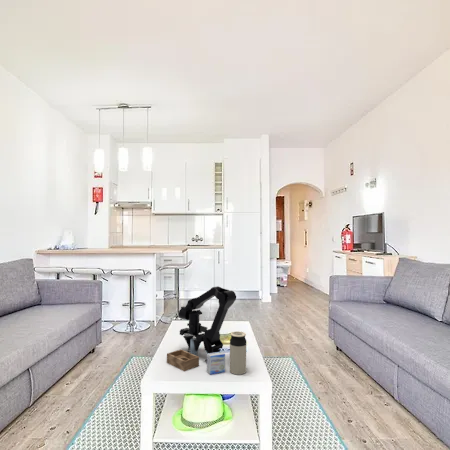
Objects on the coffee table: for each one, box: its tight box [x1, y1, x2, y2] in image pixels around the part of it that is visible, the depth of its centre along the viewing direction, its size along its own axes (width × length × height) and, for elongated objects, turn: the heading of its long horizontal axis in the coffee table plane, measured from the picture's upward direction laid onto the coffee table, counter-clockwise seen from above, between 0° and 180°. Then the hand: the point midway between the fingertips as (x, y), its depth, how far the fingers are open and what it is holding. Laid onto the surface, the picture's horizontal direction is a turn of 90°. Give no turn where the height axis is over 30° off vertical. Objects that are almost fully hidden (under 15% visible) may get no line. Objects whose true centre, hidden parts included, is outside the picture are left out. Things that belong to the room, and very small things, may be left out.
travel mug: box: [229, 330, 247, 375], centre depth 151 cm, size 8×8×18 cm
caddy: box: [166, 348, 200, 372], centre depth 158 cm, size 15×9×4 cm, turn 46°
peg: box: [189, 337, 198, 356], centre depth 172 cm, size 4×4×8 cm
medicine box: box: [206, 351, 226, 376], centre depth 150 cm, size 8×4×9 cm, turn 113°
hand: (193, 350), depth 172 cm, fingers open, 5 cm apart
